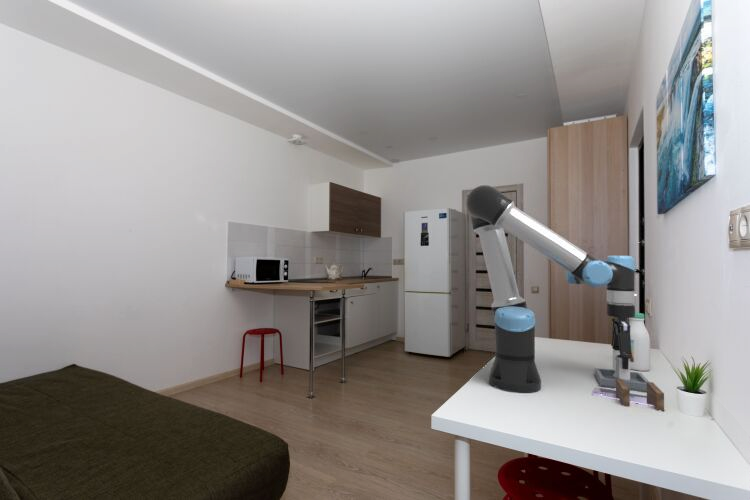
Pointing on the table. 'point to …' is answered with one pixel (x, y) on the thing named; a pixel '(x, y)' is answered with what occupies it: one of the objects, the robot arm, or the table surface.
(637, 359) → the milk bottle
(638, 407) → the table surface
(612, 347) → the robot arm
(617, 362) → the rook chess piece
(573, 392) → the table surface
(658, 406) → the walnut bracket
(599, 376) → the charcoal tray
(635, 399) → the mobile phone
